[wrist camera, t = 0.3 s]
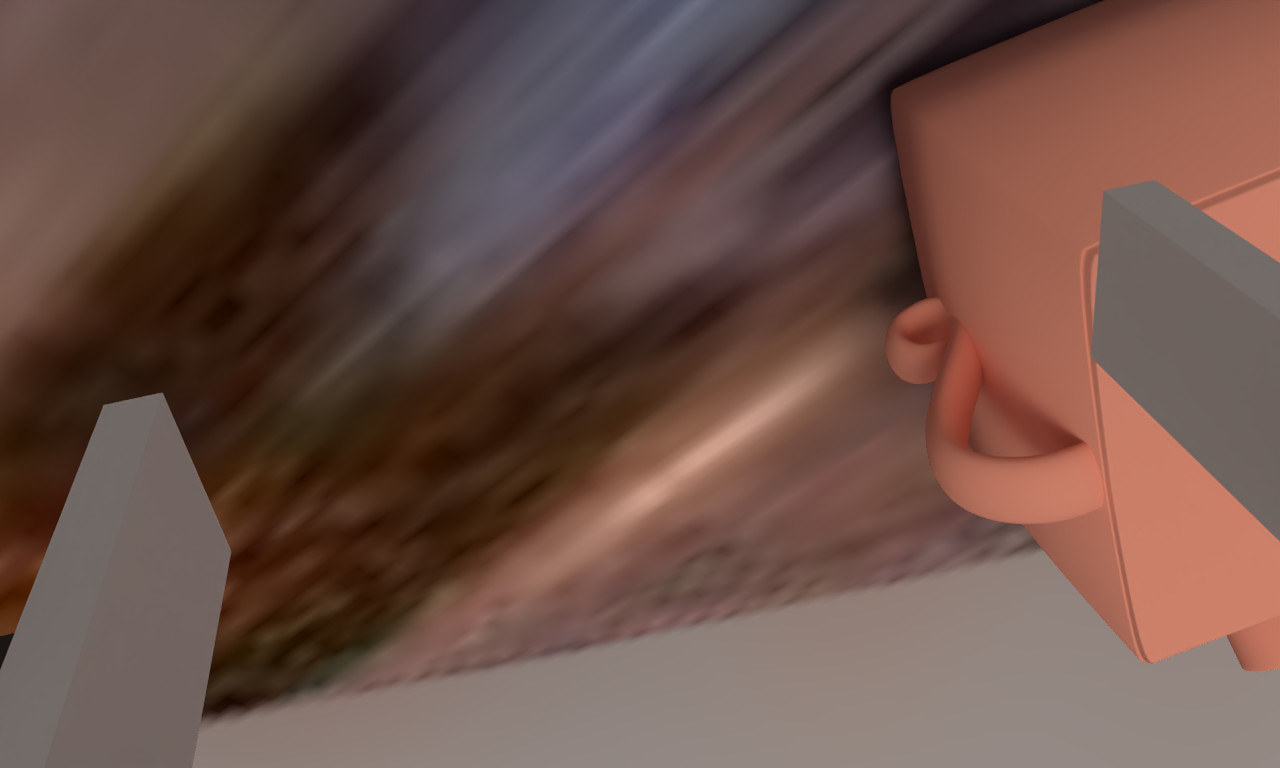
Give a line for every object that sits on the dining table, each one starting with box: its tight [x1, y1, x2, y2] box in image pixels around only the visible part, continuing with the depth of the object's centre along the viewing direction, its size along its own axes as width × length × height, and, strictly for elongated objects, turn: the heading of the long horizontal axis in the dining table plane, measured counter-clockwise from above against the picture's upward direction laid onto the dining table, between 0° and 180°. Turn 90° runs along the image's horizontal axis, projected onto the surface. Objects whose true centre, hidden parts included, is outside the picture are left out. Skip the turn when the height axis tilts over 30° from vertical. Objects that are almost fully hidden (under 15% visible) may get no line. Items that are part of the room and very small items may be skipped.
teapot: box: [885, 0, 1280, 671], centre depth 42 cm, size 25×23×18 cm
